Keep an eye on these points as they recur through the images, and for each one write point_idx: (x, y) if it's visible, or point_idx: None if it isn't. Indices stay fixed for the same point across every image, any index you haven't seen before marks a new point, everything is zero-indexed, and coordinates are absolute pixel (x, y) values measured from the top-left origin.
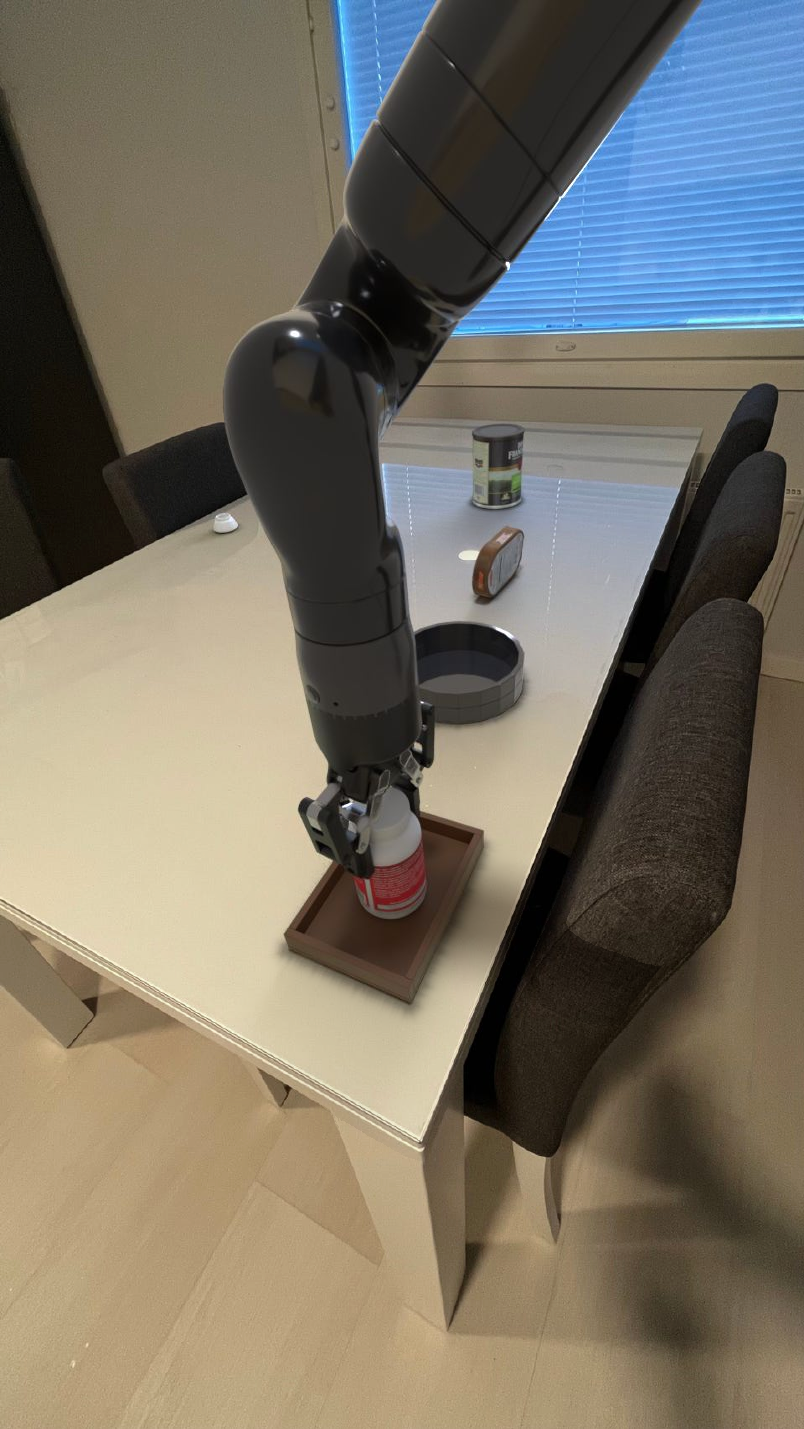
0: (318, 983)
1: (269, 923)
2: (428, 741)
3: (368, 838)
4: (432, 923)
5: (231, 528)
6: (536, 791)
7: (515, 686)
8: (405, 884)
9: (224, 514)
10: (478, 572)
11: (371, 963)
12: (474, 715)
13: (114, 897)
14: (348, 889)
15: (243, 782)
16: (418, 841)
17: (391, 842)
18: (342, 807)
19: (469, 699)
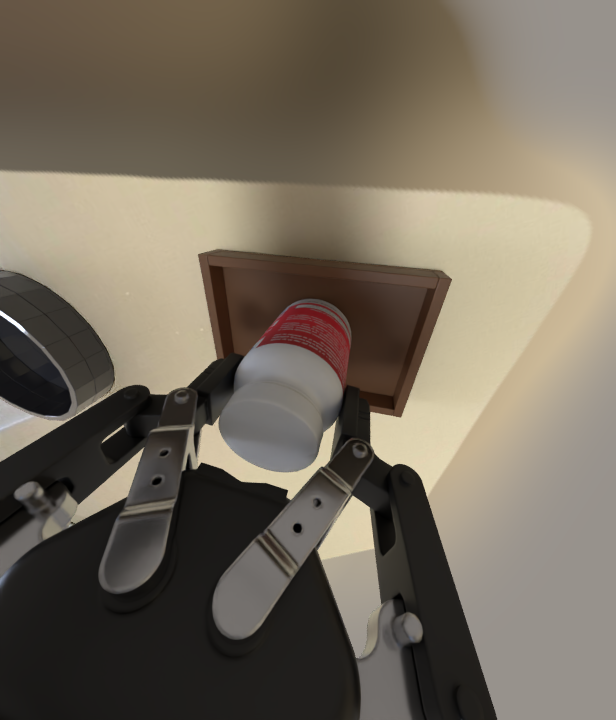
0: (429, 367)
1: (376, 419)
2: (77, 439)
3: (343, 449)
4: (353, 278)
5: (69, 525)
6: (105, 202)
7: None
8: (330, 332)
9: None
10: None
11: (421, 331)
12: (66, 315)
13: None
14: None
15: (258, 467)
16: (282, 347)
17: (309, 391)
18: (323, 536)
19: (43, 330)
